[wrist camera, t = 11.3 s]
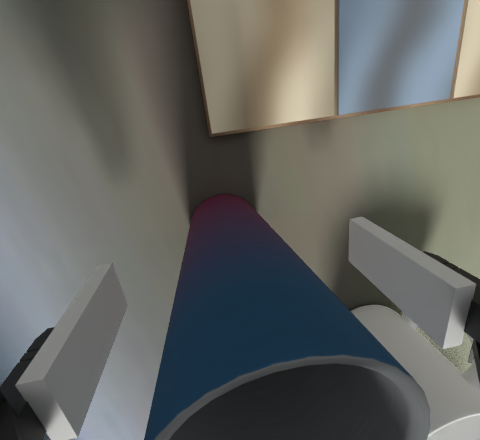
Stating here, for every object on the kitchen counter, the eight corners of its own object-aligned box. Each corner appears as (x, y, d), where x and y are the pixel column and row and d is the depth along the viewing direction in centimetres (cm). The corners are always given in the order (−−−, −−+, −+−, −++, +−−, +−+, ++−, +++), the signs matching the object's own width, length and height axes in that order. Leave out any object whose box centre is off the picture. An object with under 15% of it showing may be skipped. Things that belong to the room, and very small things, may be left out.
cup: (249, 166, 18) (414, 300, 5) (279, 244, 21) (442, 480, 7) (161, 205, 18) (59, 458, 5) (202, 278, 21) (216, 581, 7)
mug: (391, 256, 23) (527, 349, 14) (441, 295, 26) (583, 396, 17) (305, 349, 26) (370, 483, 16) (359, 376, 28) (442, 504, 19)
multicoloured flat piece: (209, 136, 17) (210, 137, 17) (180, -38, 14) (179, -47, 13) (541, 87, 20) (555, 86, 19) (583, -70, 17) (601, -79, 16)
